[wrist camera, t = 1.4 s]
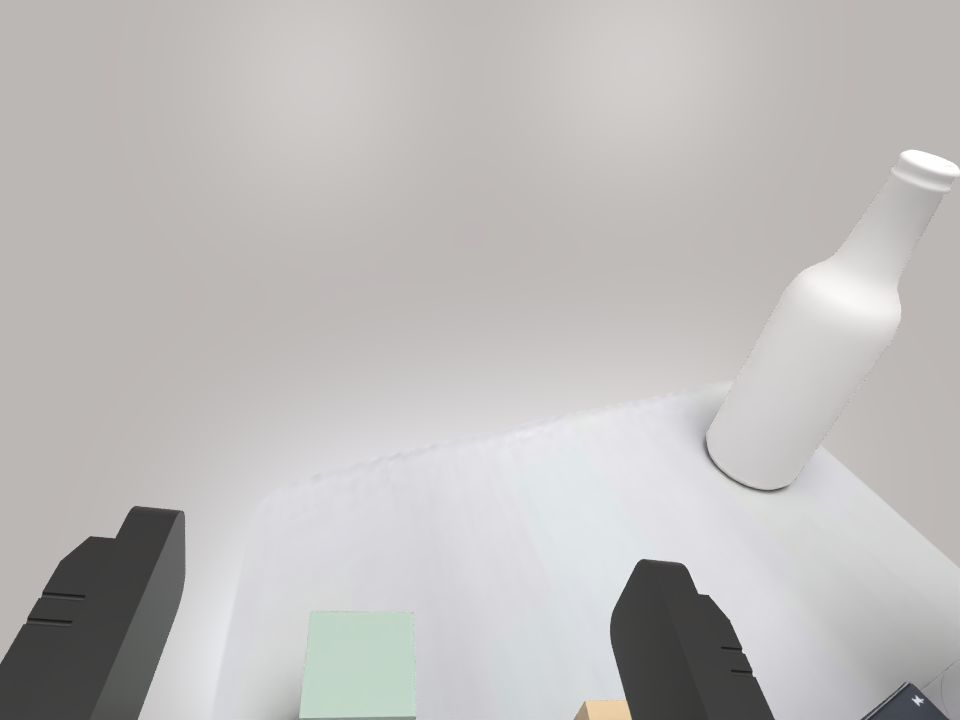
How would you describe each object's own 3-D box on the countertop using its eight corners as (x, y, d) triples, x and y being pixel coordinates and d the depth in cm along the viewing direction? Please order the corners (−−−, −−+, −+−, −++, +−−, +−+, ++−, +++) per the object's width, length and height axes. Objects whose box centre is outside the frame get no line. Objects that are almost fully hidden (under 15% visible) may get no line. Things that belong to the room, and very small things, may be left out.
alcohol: (744, 420, 69) (911, 136, 51) (811, 481, 63) (1025, 185, 45) (684, 437, 64) (842, 134, 47) (749, 504, 59) (958, 187, 41)
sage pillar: (302, 709, 38) (310, 610, 32) (390, 708, 39) (413, 612, 33) (292, 809, 34) (298, 718, 28) (390, 805, 35) (416, 715, 29)
